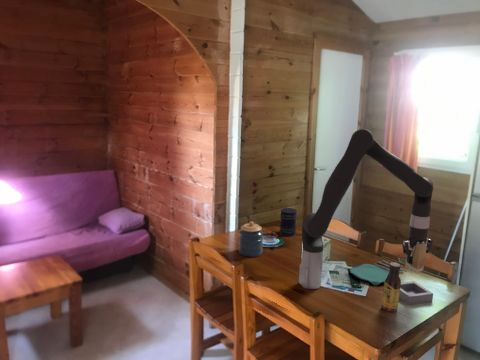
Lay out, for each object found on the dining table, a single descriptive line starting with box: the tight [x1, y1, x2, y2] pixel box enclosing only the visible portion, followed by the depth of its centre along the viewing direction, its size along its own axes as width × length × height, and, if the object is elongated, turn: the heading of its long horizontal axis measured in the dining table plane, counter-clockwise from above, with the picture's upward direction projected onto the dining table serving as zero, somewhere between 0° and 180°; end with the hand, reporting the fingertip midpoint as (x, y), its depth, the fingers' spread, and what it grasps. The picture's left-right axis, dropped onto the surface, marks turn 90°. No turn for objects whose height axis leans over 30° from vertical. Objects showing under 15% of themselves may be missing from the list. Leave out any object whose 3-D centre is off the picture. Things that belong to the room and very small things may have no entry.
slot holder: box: [399, 281, 434, 306], centre depth 183 cm, size 12×12×4 cm
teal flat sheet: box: [349, 259, 407, 286], centre depth 206 cm, size 20×30×2 cm, turn 126°
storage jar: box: [279, 207, 298, 237], centre depth 258 cm, size 10×10×15 cm
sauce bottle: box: [381, 261, 402, 313], centre depth 171 cm, size 6×6×20 cm
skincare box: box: [404, 243, 427, 273], centre depth 179 cm, size 6×4×12 cm
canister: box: [238, 221, 264, 258], centre depth 226 cm, size 13×13×18 cm
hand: (414, 262), depth 180 cm, fingers closed on skincare box, 4 cm apart
